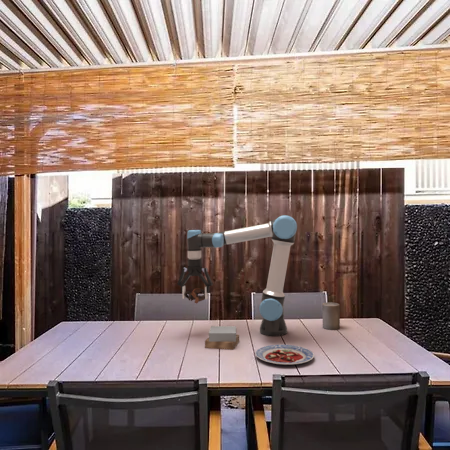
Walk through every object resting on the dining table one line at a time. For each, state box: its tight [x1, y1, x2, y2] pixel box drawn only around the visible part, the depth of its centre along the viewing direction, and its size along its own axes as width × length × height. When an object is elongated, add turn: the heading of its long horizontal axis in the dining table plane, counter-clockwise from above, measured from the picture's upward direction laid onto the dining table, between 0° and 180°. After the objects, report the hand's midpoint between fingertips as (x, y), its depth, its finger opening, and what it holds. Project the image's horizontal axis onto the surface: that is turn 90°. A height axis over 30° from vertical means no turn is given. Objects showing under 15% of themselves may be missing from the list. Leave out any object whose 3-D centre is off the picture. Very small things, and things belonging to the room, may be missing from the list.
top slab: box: [208, 325, 237, 342], centre depth 193 cm, size 13×13×4 cm
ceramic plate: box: [254, 344, 315, 366], centre depth 172 cm, size 26×26×3 cm
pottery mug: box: [185, 287, 206, 305], centre depth 208 cm, size 12×10×8 cm
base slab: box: [204, 333, 240, 351], centre depth 193 cm, size 14×14×4 cm
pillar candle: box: [321, 301, 341, 331], centre depth 221 cm, size 10×10×15 cm
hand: (195, 298), depth 208 cm, fingers closed on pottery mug, 12 cm apart
